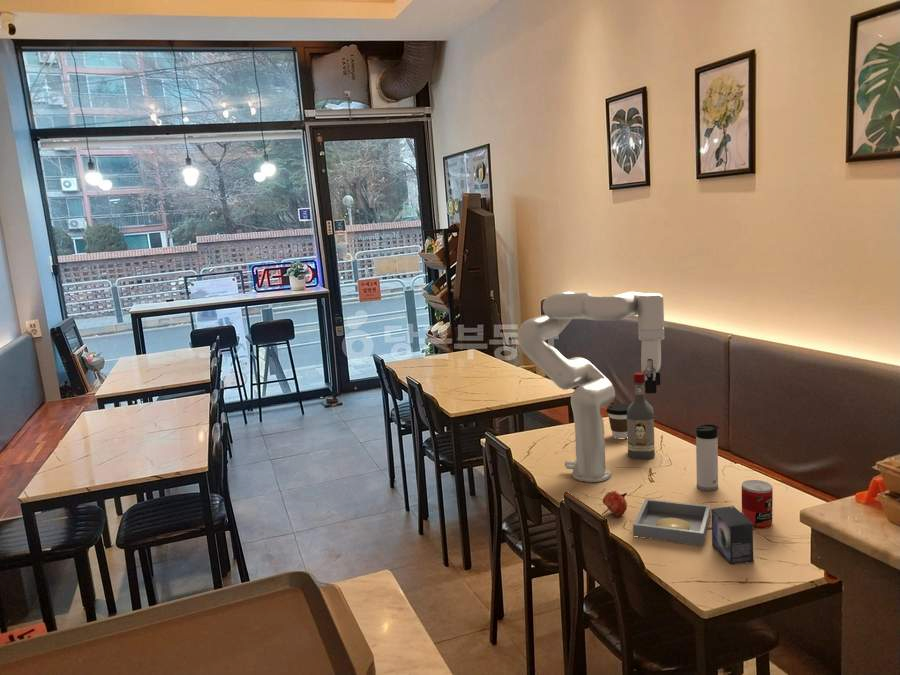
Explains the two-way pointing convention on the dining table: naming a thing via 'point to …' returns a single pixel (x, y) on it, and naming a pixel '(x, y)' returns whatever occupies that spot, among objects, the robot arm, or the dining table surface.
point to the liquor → (640, 423)
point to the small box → (732, 535)
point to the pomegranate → (615, 503)
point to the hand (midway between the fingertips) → (653, 388)
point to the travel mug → (707, 457)
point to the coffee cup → (618, 419)
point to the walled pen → (673, 521)
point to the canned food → (757, 502)
